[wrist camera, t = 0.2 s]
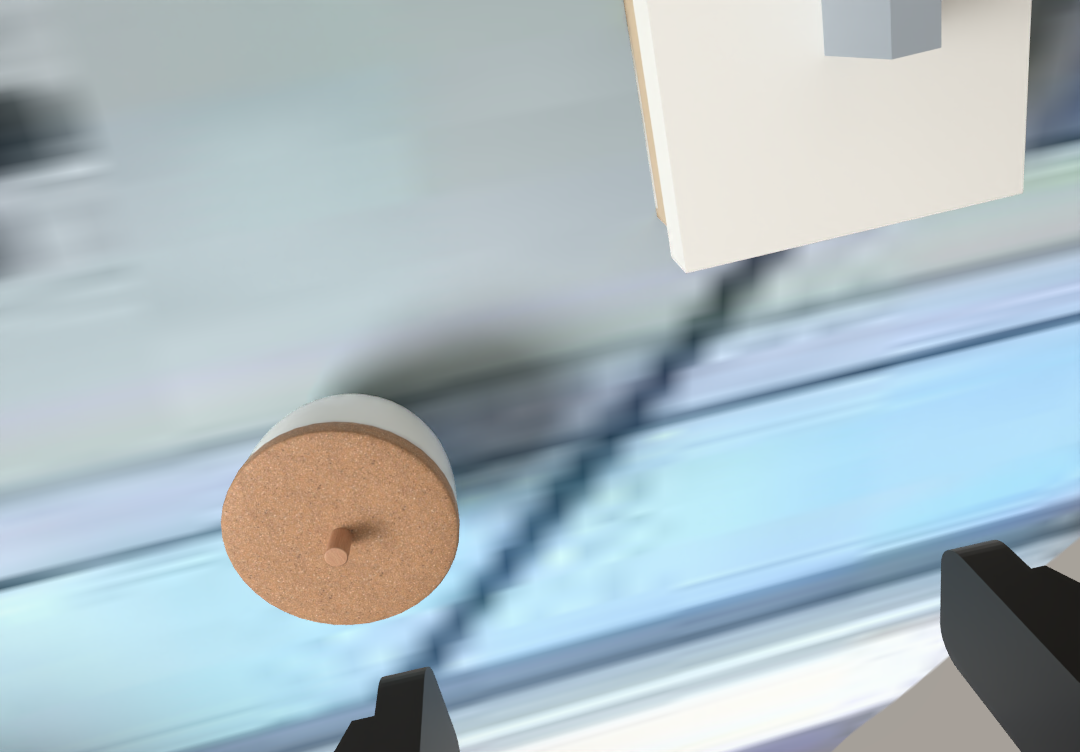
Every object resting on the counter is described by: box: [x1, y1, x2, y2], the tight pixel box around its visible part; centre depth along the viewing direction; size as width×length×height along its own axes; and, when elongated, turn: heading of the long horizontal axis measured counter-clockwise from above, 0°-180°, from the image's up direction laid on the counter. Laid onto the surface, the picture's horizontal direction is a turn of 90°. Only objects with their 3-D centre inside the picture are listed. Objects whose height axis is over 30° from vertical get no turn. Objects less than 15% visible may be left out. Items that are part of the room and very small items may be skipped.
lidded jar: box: [221, 393, 459, 625], centre depth 38 cm, size 11×11×9 cm
